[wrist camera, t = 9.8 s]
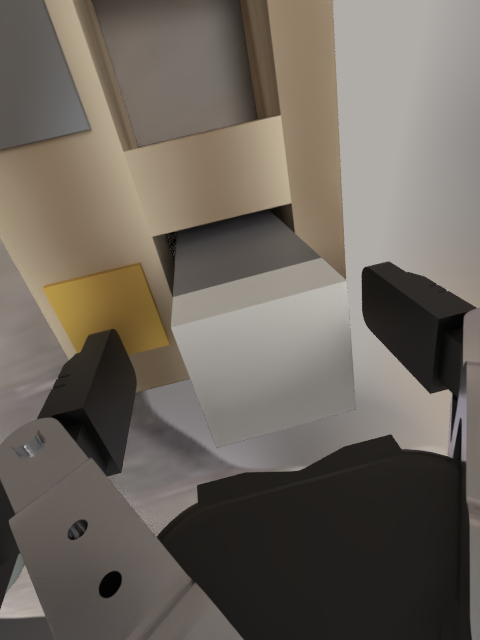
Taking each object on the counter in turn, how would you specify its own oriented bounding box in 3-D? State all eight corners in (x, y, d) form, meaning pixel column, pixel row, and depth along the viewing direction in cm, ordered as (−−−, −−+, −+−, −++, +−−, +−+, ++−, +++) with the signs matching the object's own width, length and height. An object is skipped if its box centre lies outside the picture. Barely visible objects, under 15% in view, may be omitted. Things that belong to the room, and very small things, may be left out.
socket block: (110, 353, 19) (91, 407, 15) (-83, -44, 11) (-219, -133, 7) (319, 301, 19) (351, 342, 16) (279, -121, 11) (326, -246, 8)
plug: (200, 296, 18) (216, 447, 9) (177, 222, 16) (170, 327, 7) (273, 277, 18) (355, 409, 10) (259, 201, 16) (346, 280, 8)
